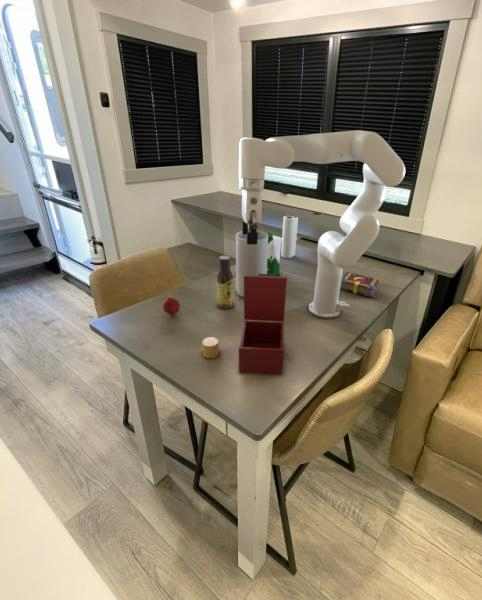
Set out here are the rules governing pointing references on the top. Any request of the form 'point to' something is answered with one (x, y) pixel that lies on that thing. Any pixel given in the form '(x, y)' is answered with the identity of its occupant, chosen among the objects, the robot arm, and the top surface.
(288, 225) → the paper towel roll
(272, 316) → the lid
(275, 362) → the red bin
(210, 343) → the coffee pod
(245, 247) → the cylinder vase
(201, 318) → the top surface
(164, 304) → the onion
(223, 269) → the sauce bottle
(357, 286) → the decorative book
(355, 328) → the top surface
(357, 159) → the robot arm
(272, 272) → the milk carton
